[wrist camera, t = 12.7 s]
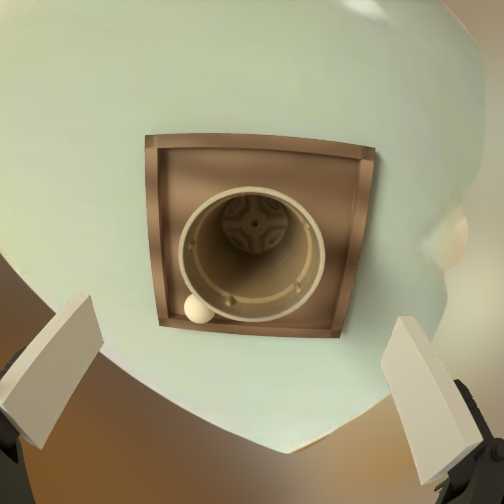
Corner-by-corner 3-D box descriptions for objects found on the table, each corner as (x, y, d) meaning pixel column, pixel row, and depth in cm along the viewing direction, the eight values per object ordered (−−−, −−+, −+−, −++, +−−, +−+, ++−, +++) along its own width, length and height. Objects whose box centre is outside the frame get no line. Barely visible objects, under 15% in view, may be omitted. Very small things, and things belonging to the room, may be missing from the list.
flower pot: (322, 190, 24) (348, 216, 16) (287, 280, 28) (294, 336, 20) (219, 157, 24) (196, 167, 16) (195, 253, 27) (168, 300, 19)
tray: (151, 135, 23) (145, 135, 22) (369, 147, 23) (375, 147, 22) (163, 318, 31) (159, 325, 30) (336, 329, 31) (339, 338, 29)
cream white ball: (187, 284, 29) (179, 301, 26) (218, 287, 29) (212, 304, 26) (189, 310, 30) (182, 328, 27) (218, 312, 30) (213, 331, 27)
